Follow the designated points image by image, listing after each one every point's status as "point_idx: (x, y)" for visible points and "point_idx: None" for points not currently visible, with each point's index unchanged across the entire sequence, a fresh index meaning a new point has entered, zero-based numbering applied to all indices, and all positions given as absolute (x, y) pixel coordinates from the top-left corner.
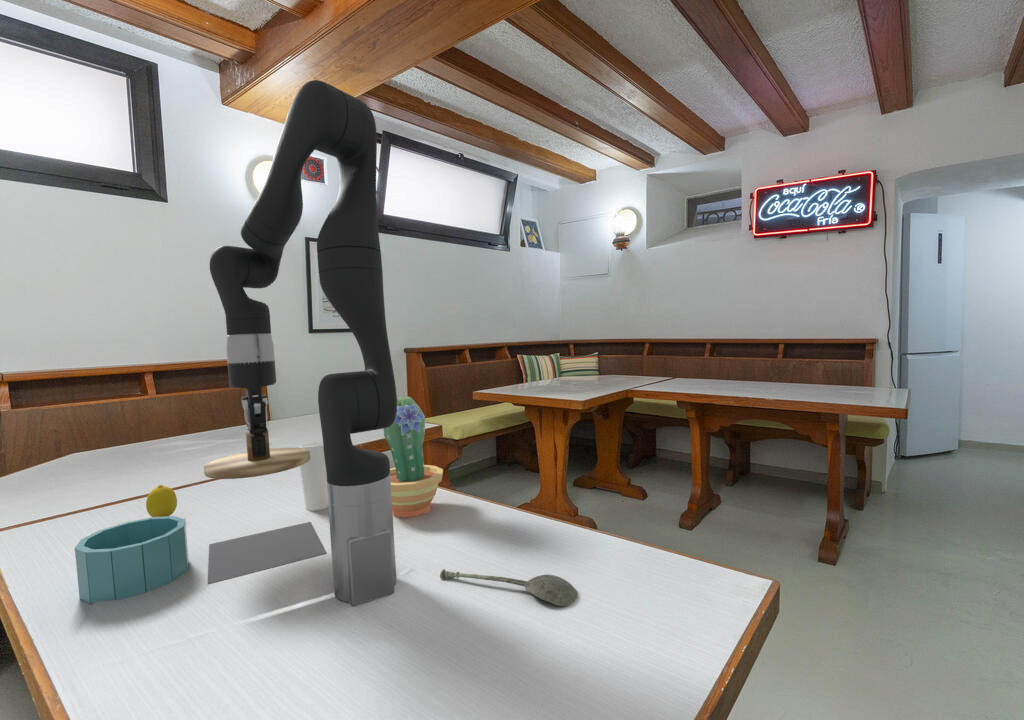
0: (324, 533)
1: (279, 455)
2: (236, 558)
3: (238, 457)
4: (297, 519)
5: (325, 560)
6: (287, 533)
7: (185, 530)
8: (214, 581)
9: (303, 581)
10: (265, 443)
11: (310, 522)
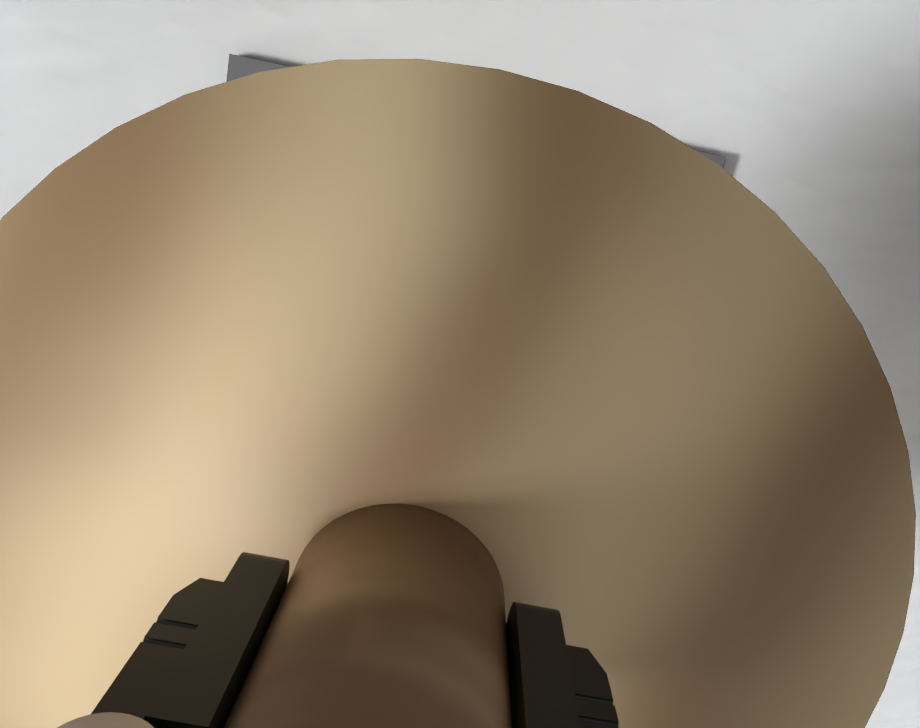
0: (433, 51)
1: (434, 416)
2: None
3: None
4: (98, 85)
5: (757, 180)
6: None
7: None
8: None
9: (863, 322)
10: (575, 702)
11: (242, 58)
